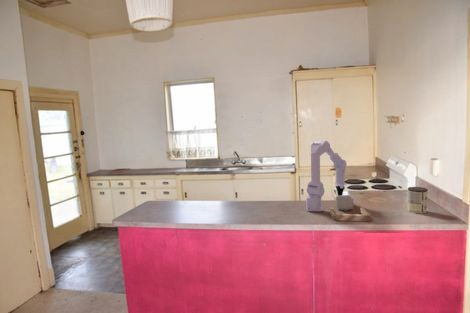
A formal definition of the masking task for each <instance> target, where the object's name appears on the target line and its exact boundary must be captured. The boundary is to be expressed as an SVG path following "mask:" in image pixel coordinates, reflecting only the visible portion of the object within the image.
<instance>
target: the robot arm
mask: <svg viewBox="0 0 470 313" xmlns="http://www.w3.org/2000/svg"><path fill="white" fill-rule="evenodd" d="M325 153H326V154H327V155H328V156H329V160H330V161H331V162H332V164H333V167H334V168H335V189H336V191H337V196H340V195H342V196H343V194H344V190H345V189H346V188H345V186H347V183H346V182H345V180H346V179H345V176H346V175H345V174H346V170H347V169H346V167H347V161H346V160H345V159H342V157H341V156H340V155H339V153H338V152H335V151H333V149H332V148H331V144H330V142H329V141H328V140H314V141H312V142H311V143H310V169H311V170H310V177H311V178H310V179H311V181H309V182H308V183H307V187H306V193H307V194H308V195H307V196H306V197H305V198H306V199H305V200H306V201H305V208H306V212H323V211H324V210H323V208H322V197H323V196H324V194H325V187H324V184H323V182H322V181H321V156H322V155H324V154H325Z"/></svg>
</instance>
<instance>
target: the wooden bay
mask: <svg viewBox="0 0 470 313" xmlns="http://www.w3.org/2000/svg"><path fill="white" fill-rule="evenodd" d="M359 213H360V214H355V213H353V214H351V213H350V214H349V213H337V212H336V210H335V209H334V207H333V206H329V214H330V216H331V218H332V220H333V221H346V222H347V221H350V222H351V221H354V222H372V216H371V214H370V213H369V212H368V211H367V210H366V209H365V207H359Z"/></svg>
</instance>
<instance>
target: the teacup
mask: <svg viewBox="0 0 470 313" xmlns="http://www.w3.org/2000/svg"><path fill="white" fill-rule="evenodd" d="M334 198H335V206H336V208H337V209H338V210H339V211H343V210H344V211H345V212H346V211H351V209H353V207H354V196H351V195H343V194H342V195H340V196H338V195H337V196H336V197H334Z"/></svg>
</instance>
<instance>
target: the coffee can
mask: <svg viewBox="0 0 470 313" xmlns="http://www.w3.org/2000/svg"><path fill="white" fill-rule="evenodd" d="M427 208H428V189H427V188H426V187H422V186H409V187H407V212H409V213H413V214H420V215H421V214H427V210H428V209H427Z"/></svg>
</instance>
